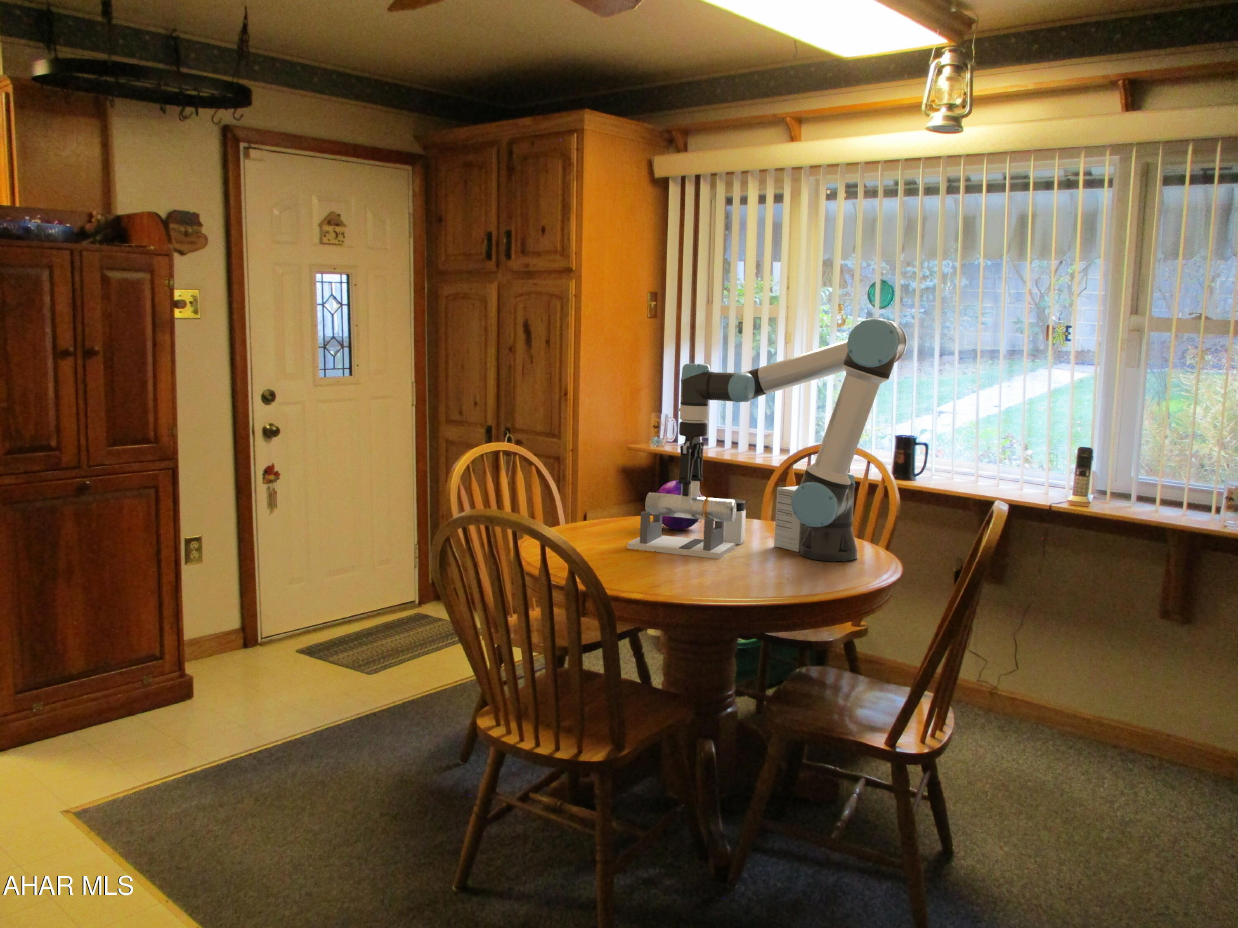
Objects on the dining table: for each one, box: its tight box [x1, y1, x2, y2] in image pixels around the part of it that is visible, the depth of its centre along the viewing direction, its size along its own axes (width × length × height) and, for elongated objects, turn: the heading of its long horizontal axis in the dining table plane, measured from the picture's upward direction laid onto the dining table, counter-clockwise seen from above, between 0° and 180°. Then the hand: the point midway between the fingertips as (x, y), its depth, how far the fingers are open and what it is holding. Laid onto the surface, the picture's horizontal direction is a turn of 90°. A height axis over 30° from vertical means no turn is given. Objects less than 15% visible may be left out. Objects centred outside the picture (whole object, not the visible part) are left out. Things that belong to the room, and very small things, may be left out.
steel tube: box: [644, 492, 736, 522], centre depth 261 cm, size 24×6×6 cm, turn 68°
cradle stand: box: [626, 510, 736, 560], centre depth 262 cm, size 26×15×10 cm, turn 68°
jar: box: [721, 497, 747, 545], centre depth 274 cm, size 9×8×12 cm
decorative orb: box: [656, 479, 703, 531], centre depth 290 cm, size 15×15×15 cm
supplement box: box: [773, 485, 808, 553], centre depth 268 cm, size 10×9×17 cm
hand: (689, 506), depth 261 cm, fingers closed on steel tube, 6 cm apart
